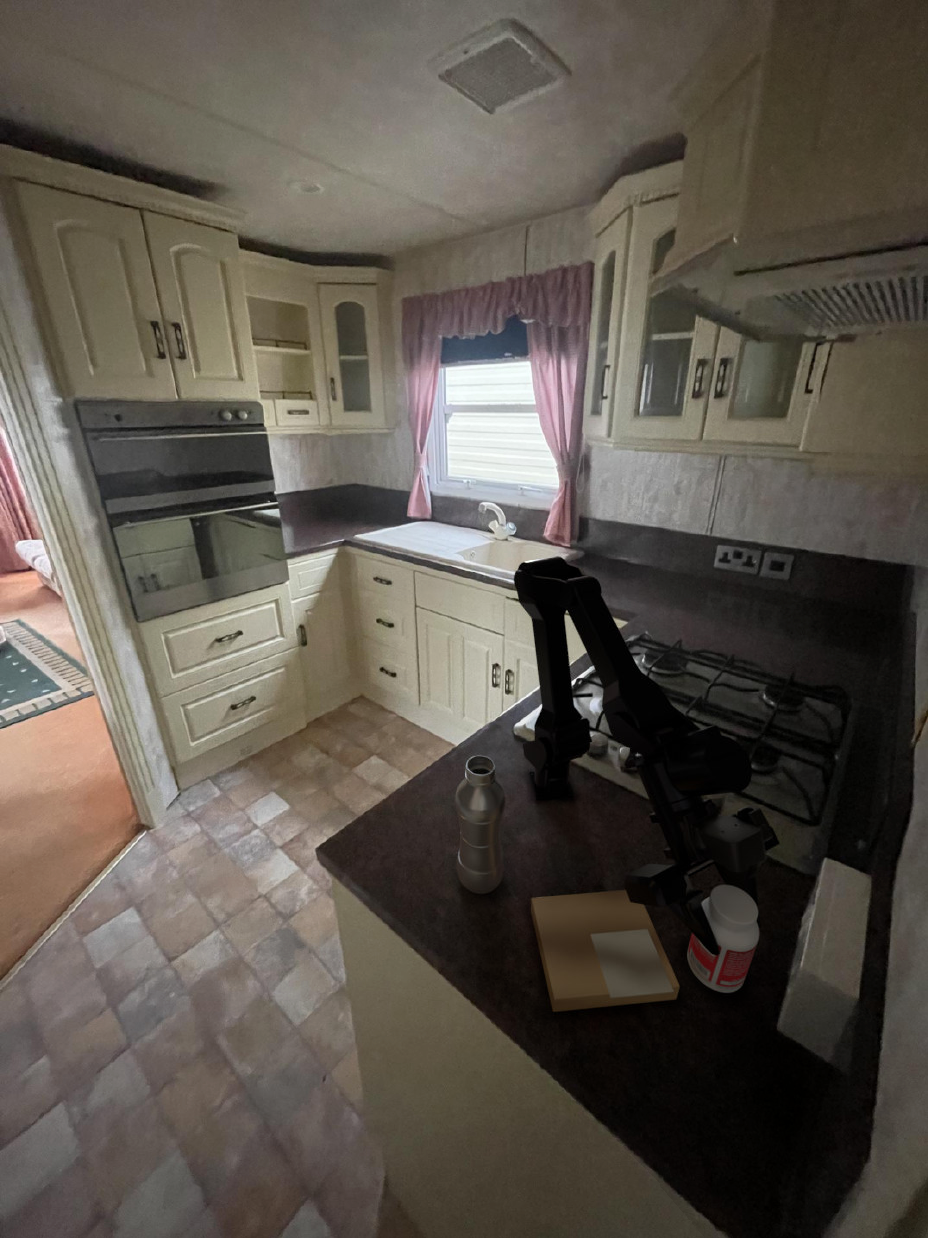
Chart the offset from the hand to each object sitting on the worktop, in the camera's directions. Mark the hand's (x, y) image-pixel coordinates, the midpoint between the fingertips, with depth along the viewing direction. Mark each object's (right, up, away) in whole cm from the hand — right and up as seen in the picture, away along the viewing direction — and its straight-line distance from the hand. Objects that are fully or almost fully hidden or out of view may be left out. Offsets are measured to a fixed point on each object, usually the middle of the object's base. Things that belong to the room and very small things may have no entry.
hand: (736, 941), depth 56 cm
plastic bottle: (-28, -1, +15) cm, 31 cm away
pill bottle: (-1, -6, +4) cm, 7 cm away
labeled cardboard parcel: (-14, -5, +6) cm, 16 cm away
